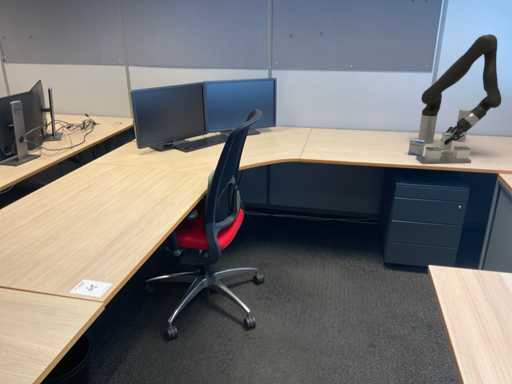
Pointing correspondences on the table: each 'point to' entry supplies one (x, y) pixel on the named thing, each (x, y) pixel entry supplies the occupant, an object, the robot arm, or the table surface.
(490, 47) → the robot arm
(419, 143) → the medicine box
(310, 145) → the table surface
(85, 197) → the table surface
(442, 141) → the module
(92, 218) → the table surface
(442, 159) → the grey notched block
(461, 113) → the spray paint can
